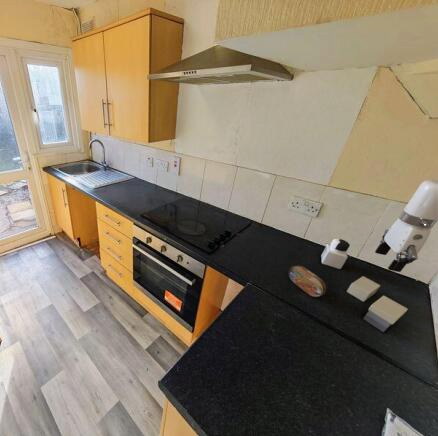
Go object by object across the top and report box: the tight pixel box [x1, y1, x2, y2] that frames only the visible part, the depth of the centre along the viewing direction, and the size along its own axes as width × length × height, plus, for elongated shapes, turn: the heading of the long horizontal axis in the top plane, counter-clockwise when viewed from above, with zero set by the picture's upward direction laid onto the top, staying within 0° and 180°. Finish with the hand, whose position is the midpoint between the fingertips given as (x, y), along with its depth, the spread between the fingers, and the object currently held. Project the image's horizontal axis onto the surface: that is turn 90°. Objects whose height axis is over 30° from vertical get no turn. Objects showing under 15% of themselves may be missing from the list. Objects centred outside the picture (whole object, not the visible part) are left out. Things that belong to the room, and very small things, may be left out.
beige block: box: [346, 276, 381, 303], centre depth 96 cm, size 6×10×5 cm, turn 118°
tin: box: [288, 265, 327, 298], centre depth 97 cm, size 15×3×8 cm, turn 21°
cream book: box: [368, 295, 409, 326], centre depth 82 cm, size 7×10×2 cm
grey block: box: [362, 310, 392, 333], centre depth 84 cm, size 6×10×5 cm, turn 118°
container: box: [320, 238, 351, 270], centre depth 111 cm, size 8×8×13 cm
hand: (386, 261), depth 79 cm, fingers open, 9 cm apart
